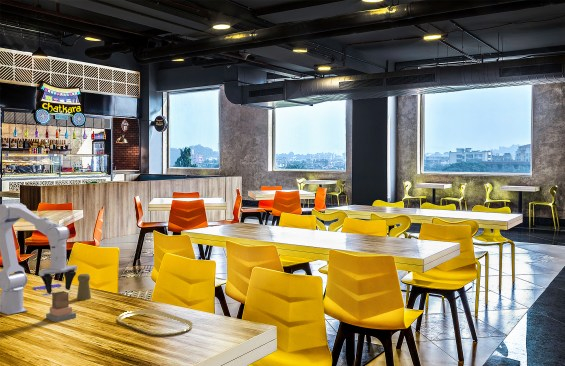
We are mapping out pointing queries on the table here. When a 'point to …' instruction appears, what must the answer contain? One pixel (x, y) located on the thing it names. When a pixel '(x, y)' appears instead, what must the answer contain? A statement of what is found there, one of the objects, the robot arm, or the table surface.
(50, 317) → the gray slab
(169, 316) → the serving platter
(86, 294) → the taupe pawn
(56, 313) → the terracotta cap
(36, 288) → the booklet
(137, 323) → the table surface
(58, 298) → the walnut block
